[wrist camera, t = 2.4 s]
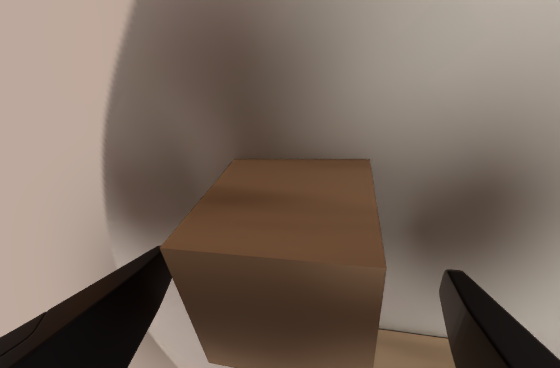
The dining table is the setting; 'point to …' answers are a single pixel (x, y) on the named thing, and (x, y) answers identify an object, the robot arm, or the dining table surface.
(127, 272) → the robot arm
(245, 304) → the walnut cube
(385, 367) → the beech base block
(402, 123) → the dining table surface
